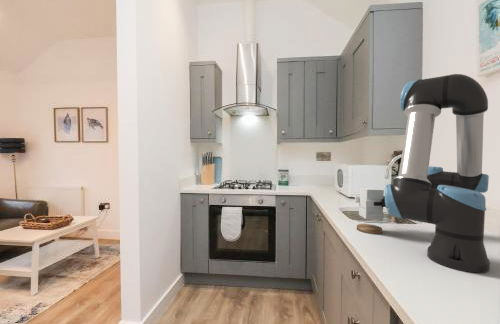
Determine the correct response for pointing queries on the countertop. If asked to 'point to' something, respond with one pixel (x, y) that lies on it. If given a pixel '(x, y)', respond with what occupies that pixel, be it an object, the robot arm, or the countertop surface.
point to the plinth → (369, 228)
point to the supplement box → (370, 195)
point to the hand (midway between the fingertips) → (360, 201)
